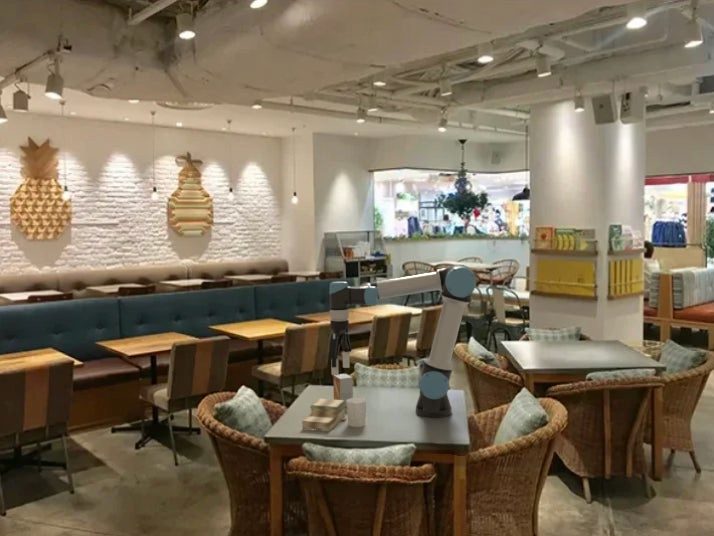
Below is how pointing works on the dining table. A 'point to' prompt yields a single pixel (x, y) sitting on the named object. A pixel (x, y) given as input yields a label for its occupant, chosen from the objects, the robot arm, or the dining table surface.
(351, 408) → the white cup
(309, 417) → the riser
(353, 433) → the dining table surface
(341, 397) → the small box
